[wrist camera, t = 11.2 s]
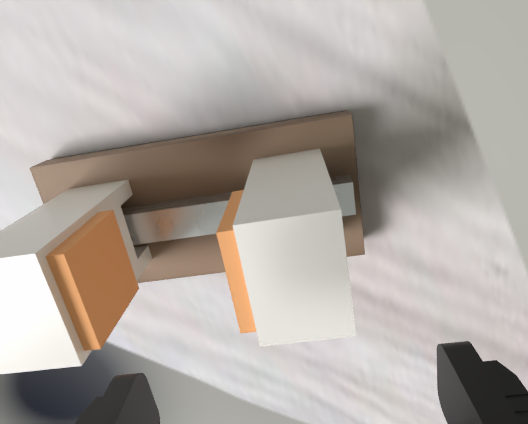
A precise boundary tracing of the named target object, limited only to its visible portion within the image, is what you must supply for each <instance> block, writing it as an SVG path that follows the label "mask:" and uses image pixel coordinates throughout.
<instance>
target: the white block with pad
mask: <svg viewBox="0 0 528 424" xmlns="http://www.w3.org/2000/svg"><path fill="white" fill-rule="evenodd" d="M216 234H217V238H218V242H219V246H220V250H221V254H222V259H223V263H224V267H225V271H226V275H227V279H228V283H229V287H230V291H231V296H232V300H233V304H234V308H235V312H236V316H237V320H238V324H239V328H240V333H249V332H257V336H258V340H259V345H260V347H262V346H271V345H280V344H289V343H298V342H307V341H316V340H325V339H334V338H343V337H353V336H356V330H355V322H354V313H353V305H352V297H351V288H350V280H349V272H348V263H347V255H346V246H345V238H344V230H343V221H342V213H341V208H340V205H339V202H338V199H337V196H336V194H335V191H334V188H333V185H332V182H331V179H330V176H329V173H328V171H327V168H326V165H325V162H324V159H323V156H322V153H321V150H320V149H315V150H308V151H302V152H296V153H290V154H284V155H278V156H272V157H266V158H260V159H254V160H253V163H252V166H251V169H250V172H249V175H248V178H247V181H246V185H245V188H244V190H240V191H233V192H232V194H231V197H230V199H229V202H228V204H227V207H226V209H225V212H224V214H223V217H222V219H221V222H220V224H219V227H218V229H217V232H216Z"/></svg>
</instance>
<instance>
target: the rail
mask: <svg viewBox="0 0 528 424" xmlns="http://www.w3.org/2000/svg"><path fill="white" fill-rule="evenodd" d="M315 149H320V150H321V153H322V156H323V159H324V162H325V165H326V168H327V171H328V173H329V176H330V179H331V182H332V185H333V188H334V191H335V194H336V196H337V199H338V202H339V205H340V208H341V213H342V221H343V230H344V238H345V246H346V255H347V257H349V256H356V255H364V254H365V250H364V239H363V228H362V217H361V206H360V196H359V185H358V174H357V163H356V152H355V141H354V130H353V119H352V114H350V113H349V112H348V111H341V112H335V113H329V114H323V115H317V116H311V117H305V118H299V119H292V120H286V121H280V122H274V123H268V124H262V125H256V126H250V127H244V128H238V129H232V130H226V131H220V132H214V133H208V134H202V135H196V136H190V137H184V138H178V139H172V140H166V141H160V142H154V143H148V144H142V145H136V146H130V147H124V148H117V149H111V150H105V151H99V152H93V153H87V154H81V155H75V156H69V157H63V158H57V159H51V160H46V161H44V162H42V163H40V164H37V165H35V166H33V167H31V168H30V171H31V173H32V176H33V178H34V181H35V183H36V186H37V188H38V191H39V194H40V196H41V199H42V201H43V205H42V206H40V207H38V208H37V209H35V210H34V211H32V212H30V213H29V214H27V215H26V216H24V217H22V218H21V219H19V220H17V221H16V222H14V223H13V224H11V225H9V226H8V227H6V228H5V229H3V230H1V231H0V374H7V373H17V372H26V371H36V370H46V369H55V368H65V367H75V366H82V364H83V363H84V362H85V360H86V358H87V357H88V355H89V354H90V352H91V351H92V350H96V349H101V348H102V346H103V345H104V343H105V341H106V340H107V338H108V337H109V335H110V334H111V332H112V330H113V329H114V327H115V326H116V324H117V322H118V321H119V319H120V318H121V316H122V315H123V313H124V311H125V310H126V308H127V307H128V305H129V303H130V302H131V300H132V299H133V297H134V296H135V294H136V292H137V291H138V289H139V287H138V284H137V283H142V282H150V281H158V280H166V279H174V278H182V277H190V276H197V275H205V274H213V273H221V272H226V271H225V267H224V263H223V259H222V254H221V250H220V246H219V242H218V238H217V234H216V232H217V229H218V227H219V224H220V222H221V219H222V217H223V214H224V212H225V209H226V207H227V204H228V202H229V199H230V197H231V194H232V192H233V191H240V190H244V188H245V185H246V181H247V178H248V175H249V172H250V169H251V166H252V163H253V160H254V159H260V158H266V157H272V156H278V155H284V154H290V153H296V152H302V151H308V150H315Z"/></svg>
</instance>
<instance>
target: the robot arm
mask: <svg viewBox="0 0 528 424" xmlns="http://www.w3.org/2000/svg"><path fill="white" fill-rule="evenodd" d="M437 386H438V396H439V400H440V404H441V408H442V411H443V414H444V416H445V418H446V421H447V423H448V424H528V391H527V390H526V388H525V387H524V386H523V384H522V383H521V381H520V380H519V378H518V377H517V376H516V375H515V374H514V373H513V372H511V371H510V370H509V369H507V368H506V367H505V366H503V365H502V364H501V363H499V362H498V361H497V360H495V361H484V362H483V361H482V360H481V358H480V357H479V355H478V353H477V352H476V350H475V349H474V347H473V346H472V344H471V343H470V342H468V341H465V342H455V343H445V344H438V346H437ZM75 424H160V417H159V412H158V408H157V406H156V403H155V400H154V397H153V395H152V392H151V389H150V386H149V384H148V381H147V378H146V376H145V375H144V374H143V373H136V374H126V375H117V376H115V377H114V378H113V379H112V381H111V382H110V384H109V386H108V388H107V390H106V392H105V394H104V396H103V397H96V398H95V400H93V401H92V402H91V404H90V405H89V406H88V407H87V408H86V409H85V410H84V411H83V412H82V413H81V415H80V416H79V418H78V420H77V421H76V423H75Z"/></svg>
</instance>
